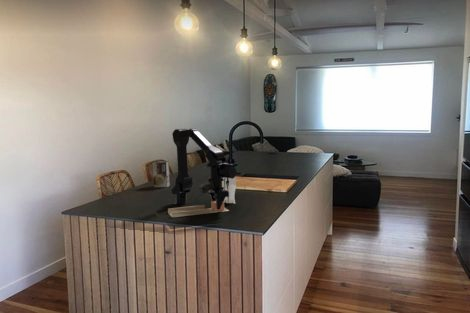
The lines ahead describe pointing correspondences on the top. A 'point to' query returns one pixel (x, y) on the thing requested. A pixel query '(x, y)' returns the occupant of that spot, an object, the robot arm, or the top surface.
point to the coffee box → (161, 173)
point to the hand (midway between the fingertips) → (216, 208)
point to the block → (214, 206)
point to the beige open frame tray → (191, 211)
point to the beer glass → (229, 189)
